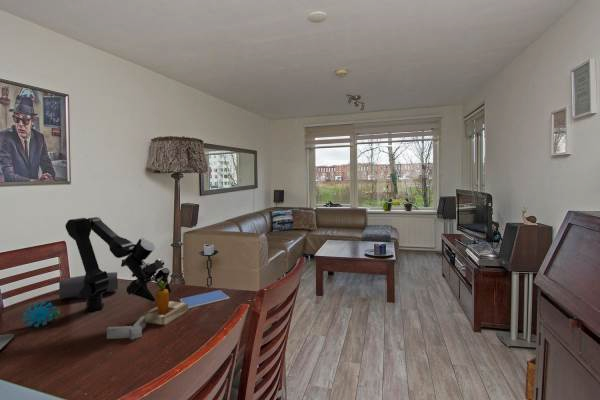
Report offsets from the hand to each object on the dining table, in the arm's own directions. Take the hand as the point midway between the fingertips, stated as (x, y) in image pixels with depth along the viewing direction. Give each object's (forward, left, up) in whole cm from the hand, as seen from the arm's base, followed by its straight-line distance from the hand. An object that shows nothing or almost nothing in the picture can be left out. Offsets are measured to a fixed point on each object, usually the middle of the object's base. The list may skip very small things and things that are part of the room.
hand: (162, 296), depth 126 cm
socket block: (-2, +1, -9) cm, 9 cm away
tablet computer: (-13, +18, -9) cm, 24 cm away
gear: (-15, -42, -9) cm, 46 cm away
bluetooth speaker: (-42, -30, -9) cm, 53 cm away
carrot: (0, 0, -9) cm, 9 cm away
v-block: (+10, -11, -9) cm, 17 cm away
